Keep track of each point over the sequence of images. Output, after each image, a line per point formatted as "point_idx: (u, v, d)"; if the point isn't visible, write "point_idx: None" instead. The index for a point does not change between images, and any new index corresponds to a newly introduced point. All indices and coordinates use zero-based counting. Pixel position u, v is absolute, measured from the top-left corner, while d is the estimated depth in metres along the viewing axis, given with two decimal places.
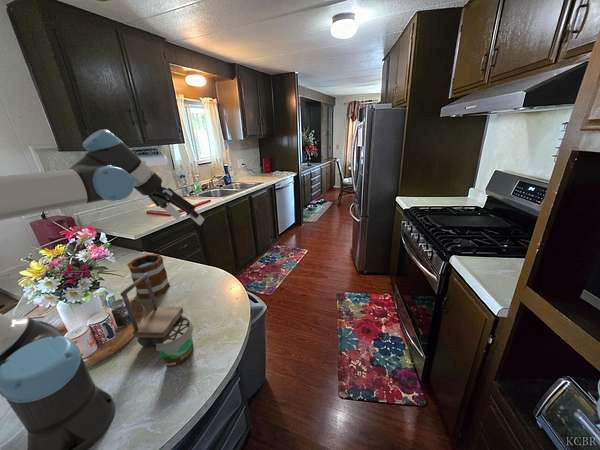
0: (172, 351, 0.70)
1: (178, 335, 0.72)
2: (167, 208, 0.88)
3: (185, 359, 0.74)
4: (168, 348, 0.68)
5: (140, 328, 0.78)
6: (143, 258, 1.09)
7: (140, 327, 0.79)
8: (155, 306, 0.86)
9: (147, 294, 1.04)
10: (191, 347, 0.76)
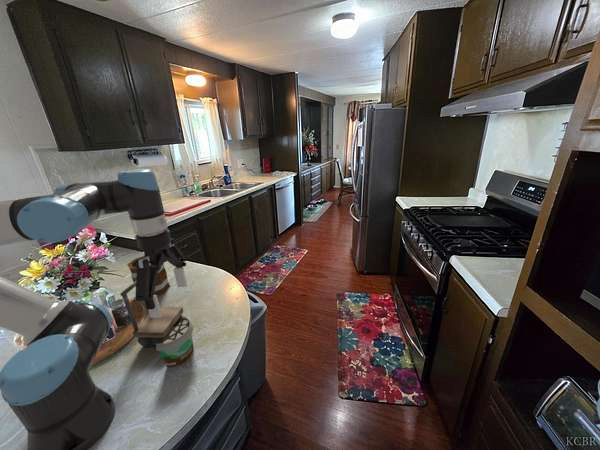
0: (172, 351, 0.70)
1: (178, 335, 0.72)
2: (176, 270, 0.73)
3: (185, 359, 0.74)
4: (168, 348, 0.68)
5: (140, 328, 0.78)
6: None
7: (140, 327, 0.79)
8: None
9: None
10: (191, 347, 0.76)
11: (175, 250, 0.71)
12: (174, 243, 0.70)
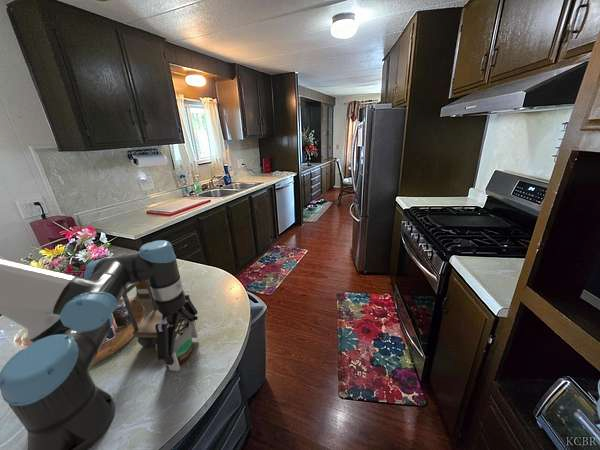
0: None
1: (178, 335, 0.72)
2: None
3: (185, 359, 0.74)
4: None
5: (140, 328, 0.78)
6: None
7: (140, 327, 0.79)
8: (155, 306, 0.86)
9: (147, 294, 1.04)
10: (191, 347, 0.76)
11: (188, 305, 0.77)
12: (188, 299, 0.76)
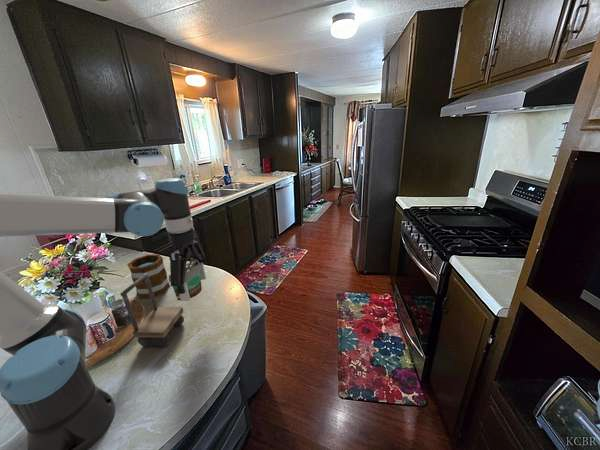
0: None
1: (188, 270, 0.78)
2: None
3: (194, 294, 0.80)
4: None
5: (140, 328, 0.78)
6: (143, 258, 1.09)
7: (140, 327, 0.79)
8: (155, 306, 0.86)
9: (147, 294, 1.04)
10: (200, 284, 0.82)
11: (197, 247, 0.84)
12: (197, 240, 0.82)
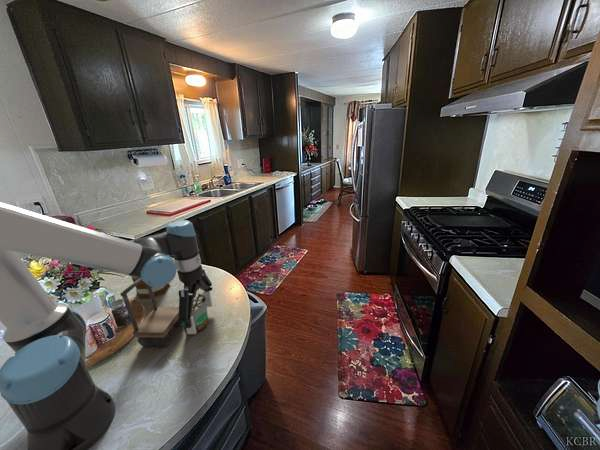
0: None
1: (196, 308, 0.83)
2: (204, 293, 0.91)
3: (202, 329, 0.85)
4: None
5: (140, 328, 0.78)
6: None
7: (140, 327, 0.79)
8: (155, 306, 0.86)
9: (147, 294, 1.04)
10: (206, 319, 0.87)
11: (204, 278, 0.88)
12: (204, 273, 0.87)
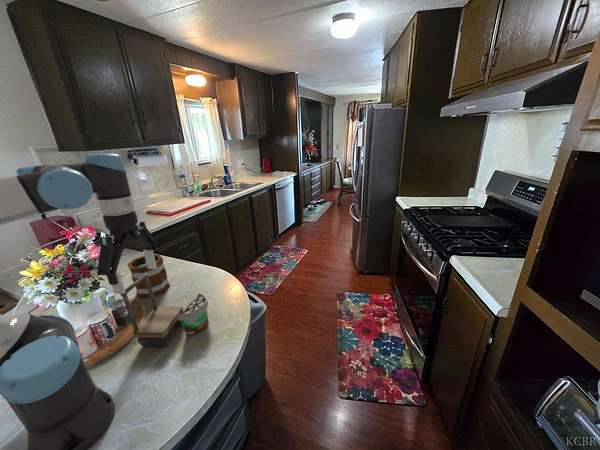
0: (191, 321, 0.81)
1: (196, 308, 0.83)
2: (146, 252, 0.77)
3: (202, 329, 0.85)
4: (188, 318, 0.80)
5: (140, 328, 0.78)
6: (143, 258, 1.09)
7: (140, 327, 0.79)
8: (155, 306, 0.86)
9: (147, 294, 1.04)
10: (206, 319, 0.87)
11: (145, 233, 0.75)
12: (143, 226, 0.74)
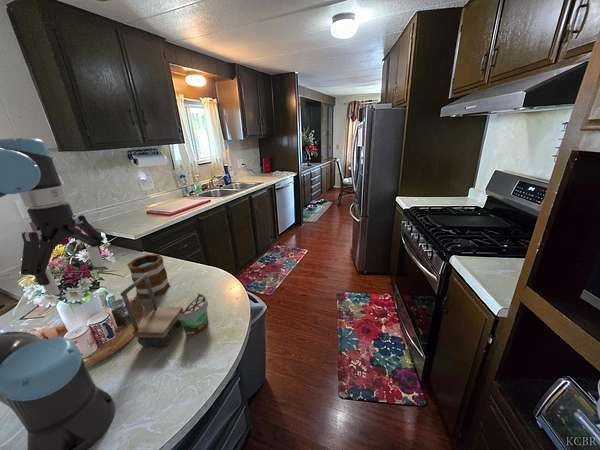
0: (191, 321, 0.81)
1: (196, 308, 0.83)
2: (90, 249, 0.71)
3: (202, 329, 0.85)
4: (188, 318, 0.80)
5: (140, 328, 0.78)
6: (143, 258, 1.09)
7: (140, 327, 0.79)
8: (155, 306, 0.86)
9: (147, 294, 1.04)
10: (206, 319, 0.87)
11: (86, 228, 0.68)
12: (83, 220, 0.67)
